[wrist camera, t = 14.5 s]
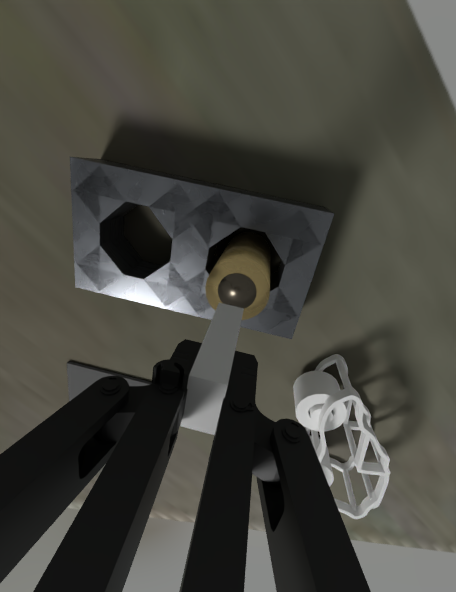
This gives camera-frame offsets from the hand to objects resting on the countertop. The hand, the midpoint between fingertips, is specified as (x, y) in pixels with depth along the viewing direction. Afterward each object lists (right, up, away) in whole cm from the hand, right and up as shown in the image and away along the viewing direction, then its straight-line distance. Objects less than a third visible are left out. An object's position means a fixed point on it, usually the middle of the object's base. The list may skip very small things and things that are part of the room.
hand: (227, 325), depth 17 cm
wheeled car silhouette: (+14, -15, +23) cm, 30 cm away
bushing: (+2, +6, +15) cm, 16 cm away
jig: (-3, +8, +15) cm, 17 cm away
